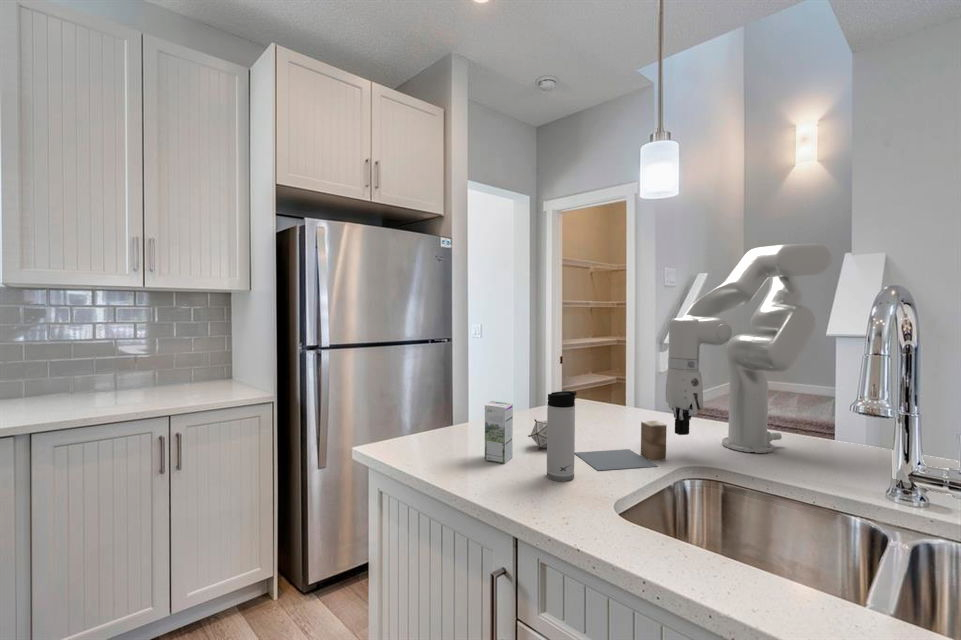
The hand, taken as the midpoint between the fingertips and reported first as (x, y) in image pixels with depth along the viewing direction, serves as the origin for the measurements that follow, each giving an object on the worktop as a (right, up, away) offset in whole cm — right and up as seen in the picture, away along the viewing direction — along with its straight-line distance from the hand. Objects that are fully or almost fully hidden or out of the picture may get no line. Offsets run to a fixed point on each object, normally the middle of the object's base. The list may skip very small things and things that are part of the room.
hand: (681, 433), depth 129 cm
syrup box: (-48, -6, -4) cm, 49 cm away
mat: (-19, -6, -4) cm, 20 cm away
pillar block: (-8, -6, -1) cm, 10 cm away
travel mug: (-35, -6, -16) cm, 39 cm away
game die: (-35, -6, +6) cm, 36 cm away
